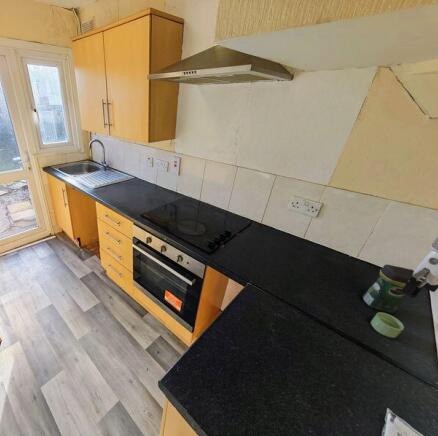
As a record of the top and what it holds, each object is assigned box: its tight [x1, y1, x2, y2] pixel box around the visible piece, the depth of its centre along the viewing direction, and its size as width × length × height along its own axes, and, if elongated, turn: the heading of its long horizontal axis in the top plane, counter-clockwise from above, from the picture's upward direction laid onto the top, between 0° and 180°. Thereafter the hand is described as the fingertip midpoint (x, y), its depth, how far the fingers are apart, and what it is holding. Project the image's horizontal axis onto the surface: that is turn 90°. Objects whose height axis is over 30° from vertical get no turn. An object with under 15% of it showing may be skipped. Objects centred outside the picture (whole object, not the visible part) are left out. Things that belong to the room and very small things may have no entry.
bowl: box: [370, 311, 405, 339], centre depth 80 cm, size 7×7×5 cm
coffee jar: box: [362, 264, 415, 314], centre depth 87 cm, size 10×8×19 cm
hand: (417, 291), depth 73 cm, fingers open, 9 cm apart
